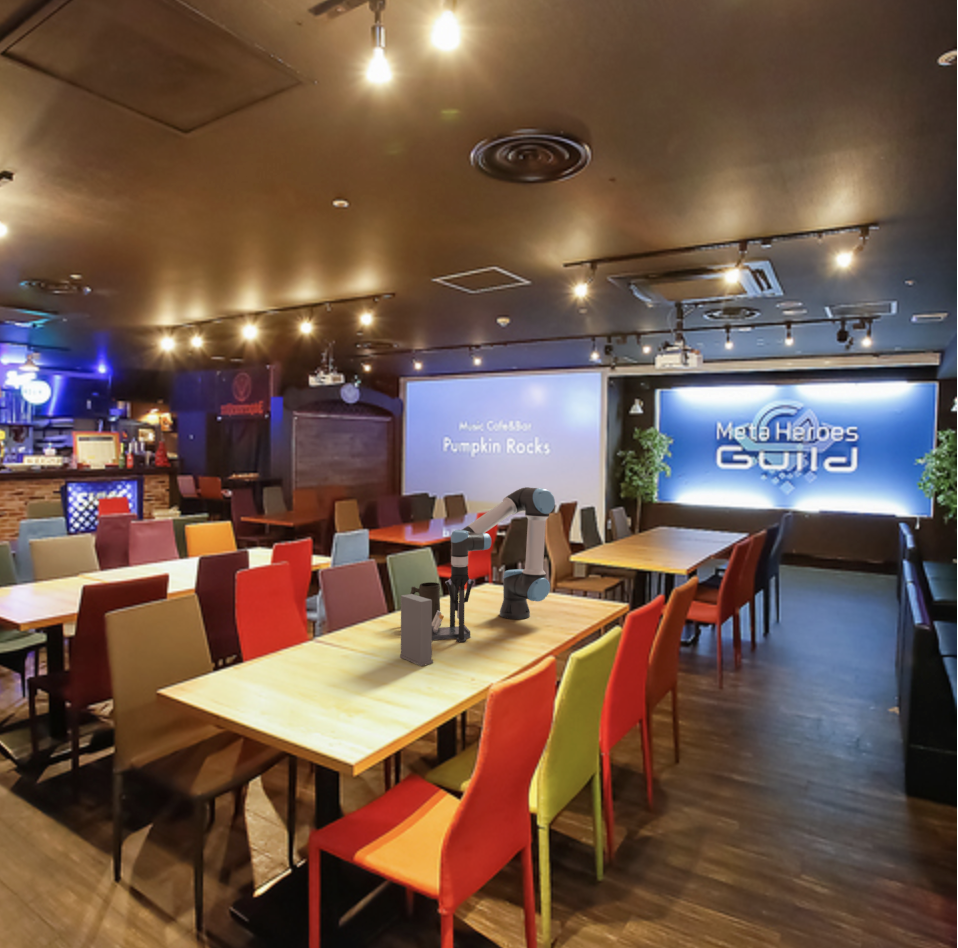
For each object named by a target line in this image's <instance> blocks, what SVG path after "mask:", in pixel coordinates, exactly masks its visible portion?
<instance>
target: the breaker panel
mask: <svg viewBox="0 0 958 948" xmlns="http://www.w3.org/2000/svg"><path fill="white" fill-rule="evenodd" d="M457 638H459V625H458V626H455V627H450V626H444V627H441V626H440V627H439V628H438V632H437V633H434V631H433V630H432V641H442V640H456V639H457ZM464 638H466V639H470V638H471V630H469V628H468V627H467V626H466V625H465V624H464Z"/></svg>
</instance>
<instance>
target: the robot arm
mask: <svg viewBox="0 0 958 948" xmlns="http://www.w3.org/2000/svg"><path fill="white" fill-rule="evenodd" d="M555 505H556V501H555V496H554V495H553V493H552V492H551V491H550V490H548V489H545V488H541V487H526V486H524V487H521V488H519V489H516V490H515V491H513V492H511V493H510V494H508V495H507V496H505V497H504V498H503V499H502V501H501V502H500V503H499V504H497V505H496V506H494V507H493V508H491V509H490V510H488V511H487V512H485V513H484V514H482V515H481V516H480V517H478V518H477V519H475V520H474V521H471V523H470V524H468V525H467V526H465V527H463V528H462V529H455V530H453V531H452V532H451V534H450V543H451V544H450V545H451V548H450V549H451V550H450V551H451V559H450V561H451V562H450V565H451V567H450V571H451V572H450V577H449V579H448V580H445V582H444V584H446V586H447V591H448V593H449V601H450V600H451V602H452V603H455V612H456V618H457V619H458V620H459V590H464V591H465V586H466V585H467V586H466V591H465V597H464V604H466V603H468V601H469V599H470V594H471V591H472V586H473V584H474V583H475V582H474V580H472V579H470V577H469V566H468V565H469V552H474V551H476V552H477V551H485V550H489V549H490V548H491V546H492V537H491V535H490V534H489V533H486V532H488V531H490V530H491V529H493V528H494V527H495V526H497V525H498V524H500V523H501V522H503V521H504V520H506V519H507V518H508V517H509V516H511V515H513V516H514V515H516V514H517V513H520V512H524V516H525V517H526V518H527V529H526V531H527V532H526V533H527V534H526V552H525V563H524V564H525V566H524V567H525V568H524V569H523V568H519V569H516V568H515V569H508V570H505V571H504V573H503V577H502V579H503V581H502V582H503V585H502V586H503V588H502V589H503V597H502V598H503V599H502V603H501V606H500V609H499V617H501V618H505V619H508V620H509V619H510V620H525V619H527V618H530V616H531V610H530V607H529V605H528V601H527V600H529V601H531V602H542V601H543V600H545V599H546V597H548V596H549V593H550V590H551V584H550V582H549V580H548V579H547V578H546V577H547V576H546V575H547V573H546V571H545V570H544V560H545V559H544V558H545V557H544V555H545V543H546V542H545V540H546V539H545V538H546V523H547V522H546V521H547V519H548V518H550V513H551V512H553V510H554V508H555ZM451 582H452V583H453V584H454V585H455V600H454V597H453V593H452V588H451Z"/></svg>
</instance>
